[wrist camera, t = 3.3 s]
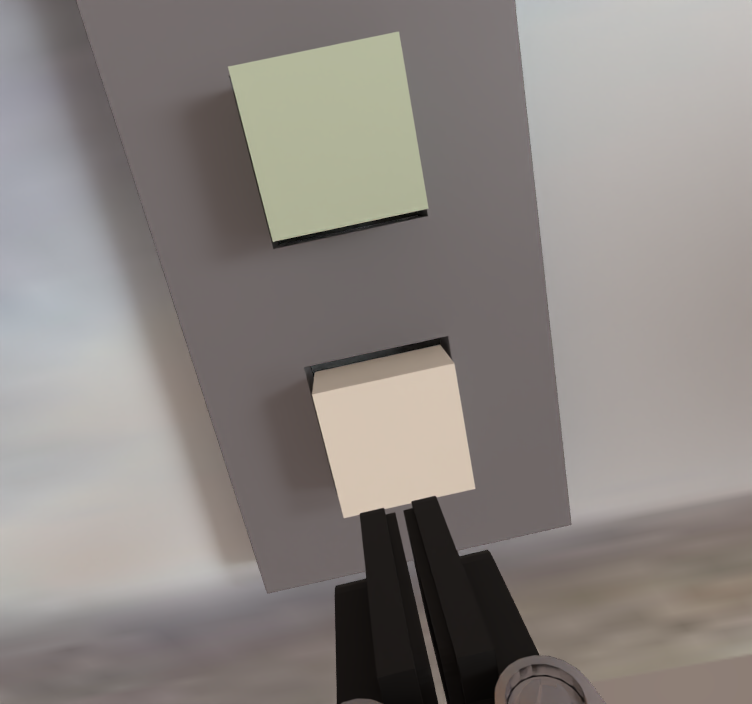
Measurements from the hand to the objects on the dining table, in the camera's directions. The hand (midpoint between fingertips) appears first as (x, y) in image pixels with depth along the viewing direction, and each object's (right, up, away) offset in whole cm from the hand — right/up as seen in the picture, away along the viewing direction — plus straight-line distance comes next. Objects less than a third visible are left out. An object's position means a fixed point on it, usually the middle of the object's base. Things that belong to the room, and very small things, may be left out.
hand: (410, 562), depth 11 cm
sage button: (-2, +11, +5) cm, 12 cm away
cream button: (0, +2, +7) cm, 8 cm away
